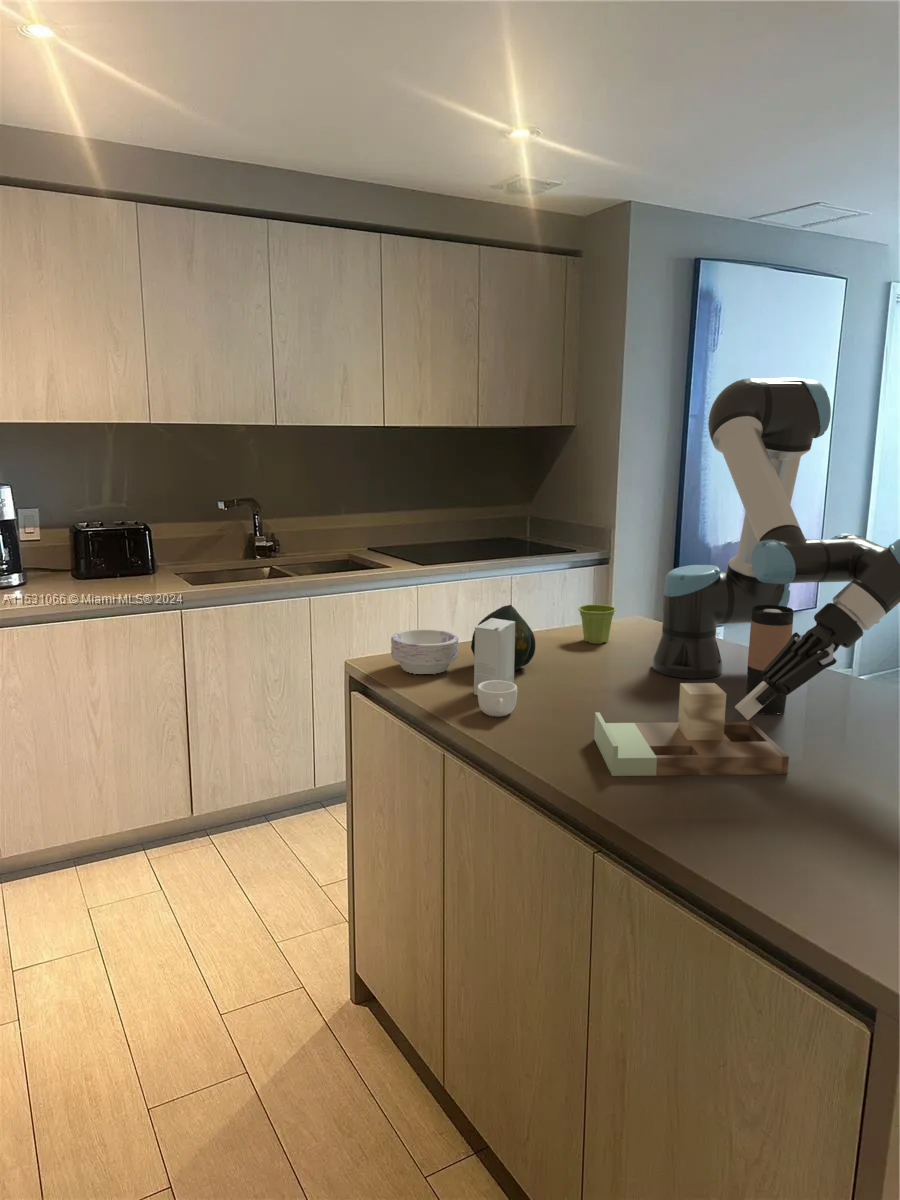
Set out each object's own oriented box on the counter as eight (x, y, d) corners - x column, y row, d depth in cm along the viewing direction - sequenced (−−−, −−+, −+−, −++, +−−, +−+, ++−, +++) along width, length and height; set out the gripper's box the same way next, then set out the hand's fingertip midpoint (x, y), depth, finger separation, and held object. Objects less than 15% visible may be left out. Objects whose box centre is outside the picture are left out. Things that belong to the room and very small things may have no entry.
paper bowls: (472, 669, 195) (472, 635, 193) (423, 683, 185) (423, 648, 183) (426, 656, 206) (425, 624, 204) (377, 670, 195) (376, 636, 193)
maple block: (712, 727, 149) (714, 683, 148) (723, 739, 143) (726, 693, 142) (677, 727, 149) (680, 683, 147) (687, 740, 143) (690, 694, 142)
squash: (469, 655, 186) (512, 602, 186) (452, 641, 200) (493, 592, 201) (515, 694, 190) (558, 642, 190) (496, 677, 204) (536, 629, 205)
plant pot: (576, 645, 216) (577, 611, 214) (577, 636, 225) (578, 603, 223) (614, 646, 214) (616, 612, 212) (614, 637, 223) (615, 604, 221)
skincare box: (489, 684, 184) (490, 617, 181) (515, 688, 181) (516, 620, 178) (472, 695, 176) (472, 625, 173) (499, 700, 174) (500, 628, 171)
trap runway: (751, 737, 152) (752, 721, 152) (787, 774, 137) (788, 756, 136) (633, 738, 152) (634, 722, 151) (656, 775, 136) (656, 757, 136)
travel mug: (787, 705, 169) (795, 606, 165) (784, 717, 163) (792, 614, 159) (747, 700, 173) (753, 603, 169) (742, 711, 166) (749, 610, 162)
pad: (633, 738, 152) (634, 712, 151) (656, 775, 136) (657, 745, 135) (594, 739, 152) (595, 712, 151) (612, 775, 136) (613, 746, 135)
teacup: (475, 707, 170) (475, 680, 168) (513, 705, 170) (514, 679, 169) (480, 724, 160) (481, 696, 159) (521, 723, 160) (522, 695, 159)
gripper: (882, 642, 137) (770, 742, 140) (843, 623, 149) (742, 715, 152) (851, 609, 135) (739, 711, 139) (816, 593, 148) (714, 687, 151)
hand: (741, 713), depth 146 cm, fingers closed
